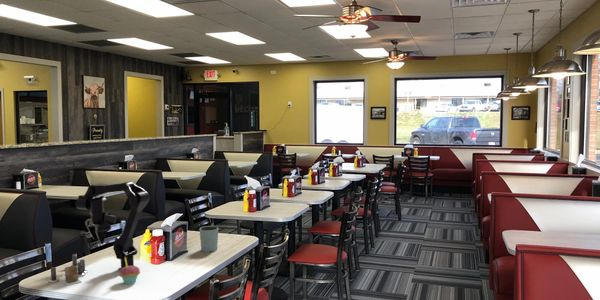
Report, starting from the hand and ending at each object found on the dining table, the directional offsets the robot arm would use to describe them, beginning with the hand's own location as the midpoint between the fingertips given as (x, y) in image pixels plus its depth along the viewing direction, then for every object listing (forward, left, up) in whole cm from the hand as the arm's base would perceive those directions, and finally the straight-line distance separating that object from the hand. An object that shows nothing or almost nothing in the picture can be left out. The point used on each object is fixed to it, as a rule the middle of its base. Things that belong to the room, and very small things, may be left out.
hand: (98, 242), depth 225 cm
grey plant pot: (-13, -53, -12) cm, 56 cm away
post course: (+1, +16, -12) cm, 20 cm away
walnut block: (-13, +17, -12) cm, 24 cm away
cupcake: (-32, -2, -12) cm, 34 cm away
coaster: (-14, +17, -12) cm, 25 cm away
